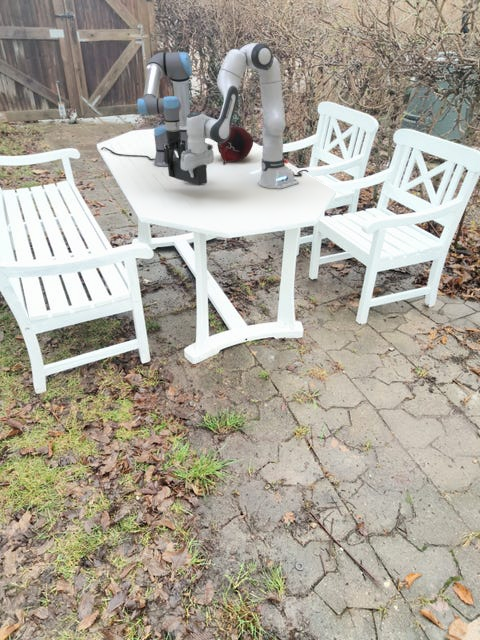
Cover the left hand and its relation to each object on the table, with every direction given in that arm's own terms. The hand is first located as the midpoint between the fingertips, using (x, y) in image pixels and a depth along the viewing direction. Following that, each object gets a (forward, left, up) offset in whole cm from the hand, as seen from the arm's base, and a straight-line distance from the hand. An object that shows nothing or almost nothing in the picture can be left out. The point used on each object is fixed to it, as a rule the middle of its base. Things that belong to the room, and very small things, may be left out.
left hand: (177, 175), depth 244 cm
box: (+9, 0, -1) cm, 9 cm away
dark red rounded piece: (-21, +68, -9) cm, 72 cm away
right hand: (+17, 0, +3) cm, 17 cm away
